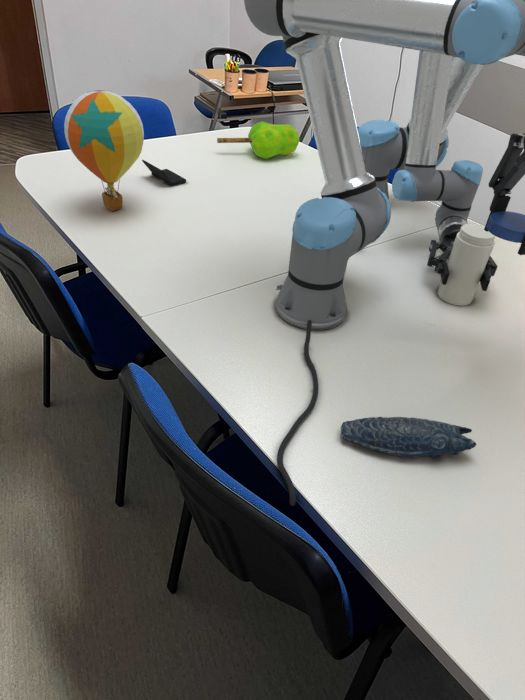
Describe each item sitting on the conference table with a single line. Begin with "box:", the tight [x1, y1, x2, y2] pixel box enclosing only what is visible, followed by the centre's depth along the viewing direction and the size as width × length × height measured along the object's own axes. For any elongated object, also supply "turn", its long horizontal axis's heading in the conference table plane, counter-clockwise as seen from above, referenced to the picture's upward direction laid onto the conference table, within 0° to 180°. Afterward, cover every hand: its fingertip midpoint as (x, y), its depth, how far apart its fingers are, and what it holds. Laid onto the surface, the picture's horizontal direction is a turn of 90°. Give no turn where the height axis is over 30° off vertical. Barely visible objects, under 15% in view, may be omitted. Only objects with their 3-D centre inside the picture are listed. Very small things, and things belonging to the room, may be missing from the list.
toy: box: [63, 89, 145, 212], centre depth 136 cm, size 20×20×30 cm
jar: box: [437, 223, 496, 307], centre depth 117 cm, size 8×8×17 cm
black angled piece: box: [141, 159, 187, 187], centre depth 162 cm, size 12×7×10 cm
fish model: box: [340, 416, 477, 458], centre depth 82 cm, size 7×21×5 cm, turn 84°
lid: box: [486, 210, 525, 244], centre depth 92 cm, size 9×9×2 cm
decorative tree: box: [216, 121, 300, 160], centre depth 186 cm, size 18×10×30 cm
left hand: (507, 241), depth 94 cm, fingers closed on lid, 9 cm apart
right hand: (466, 282), depth 114 cm, fingers closed on jar, 8 cm apart
